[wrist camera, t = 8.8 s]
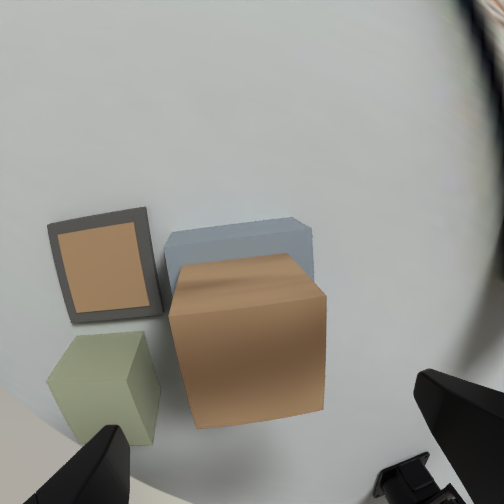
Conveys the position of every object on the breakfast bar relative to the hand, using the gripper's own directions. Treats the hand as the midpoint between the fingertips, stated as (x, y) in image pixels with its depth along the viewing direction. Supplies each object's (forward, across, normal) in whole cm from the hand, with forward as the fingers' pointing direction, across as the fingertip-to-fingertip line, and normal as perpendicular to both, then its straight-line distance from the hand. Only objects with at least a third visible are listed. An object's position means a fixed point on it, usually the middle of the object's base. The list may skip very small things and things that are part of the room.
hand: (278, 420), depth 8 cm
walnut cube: (+8, 0, 0) cm, 8 cm away
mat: (+12, +8, -2) cm, 14 cm away
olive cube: (+12, +9, +5) cm, 16 cm away
